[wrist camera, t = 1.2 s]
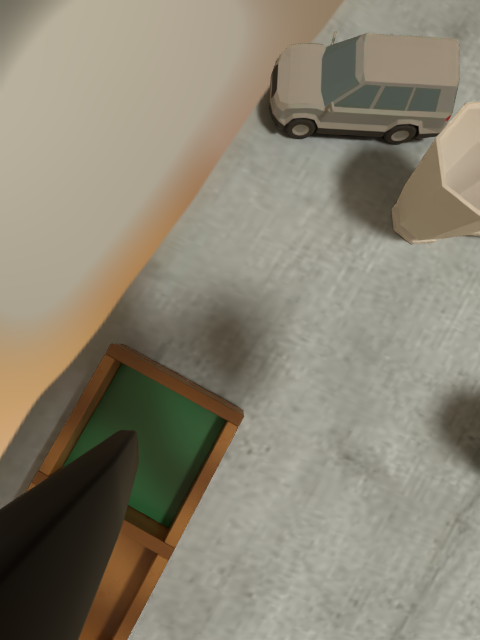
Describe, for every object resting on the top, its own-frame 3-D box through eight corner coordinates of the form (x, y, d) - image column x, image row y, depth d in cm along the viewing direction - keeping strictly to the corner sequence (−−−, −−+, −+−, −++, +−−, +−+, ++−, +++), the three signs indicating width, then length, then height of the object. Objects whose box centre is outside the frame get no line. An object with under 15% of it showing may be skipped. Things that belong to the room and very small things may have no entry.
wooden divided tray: (106, 670, 23) (93, 704, 21) (-22, 595, 23) (-49, 620, 21) (243, 410, 24) (244, 416, 22) (122, 343, 25) (110, 343, 23)
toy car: (270, 72, 27) (277, 9, 22) (431, 82, 27) (474, 21, 22) (266, 140, 26) (273, 91, 21) (430, 150, 26) (475, 103, 21)
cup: (387, 162, 26) (453, 78, 18) (511, 201, 26) (634, 135, 18) (361, 245, 26) (419, 197, 18) (489, 287, 25) (605, 257, 17)
